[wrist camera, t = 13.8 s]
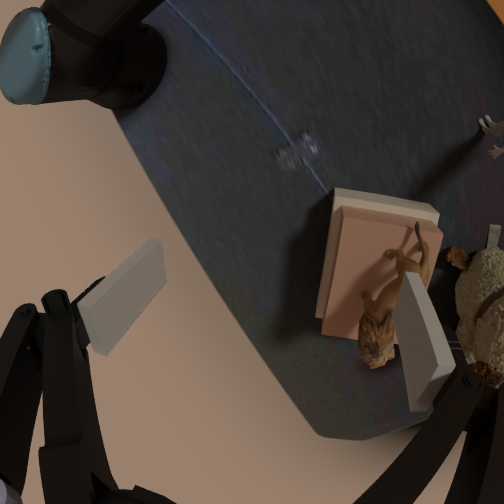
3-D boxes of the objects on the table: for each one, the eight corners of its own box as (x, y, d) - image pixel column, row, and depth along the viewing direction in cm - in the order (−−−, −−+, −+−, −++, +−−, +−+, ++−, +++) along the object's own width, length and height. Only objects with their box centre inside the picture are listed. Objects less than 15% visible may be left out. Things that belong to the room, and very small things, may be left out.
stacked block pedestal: (317, 299, 48) (312, 339, 39) (334, 187, 41) (335, 207, 32) (399, 310, 46) (409, 350, 37) (428, 203, 38) (452, 227, 29)
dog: (458, 347, 46) (486, 431, 28) (399, 295, 45) (423, 389, 27) (542, 259, 35) (602, 323, 17) (494, 187, 34) (574, 236, 16)
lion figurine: (383, 329, 36) (391, 379, 28) (347, 318, 37) (347, 369, 29) (434, 227, 30) (463, 262, 22) (393, 211, 30) (413, 243, 22)
